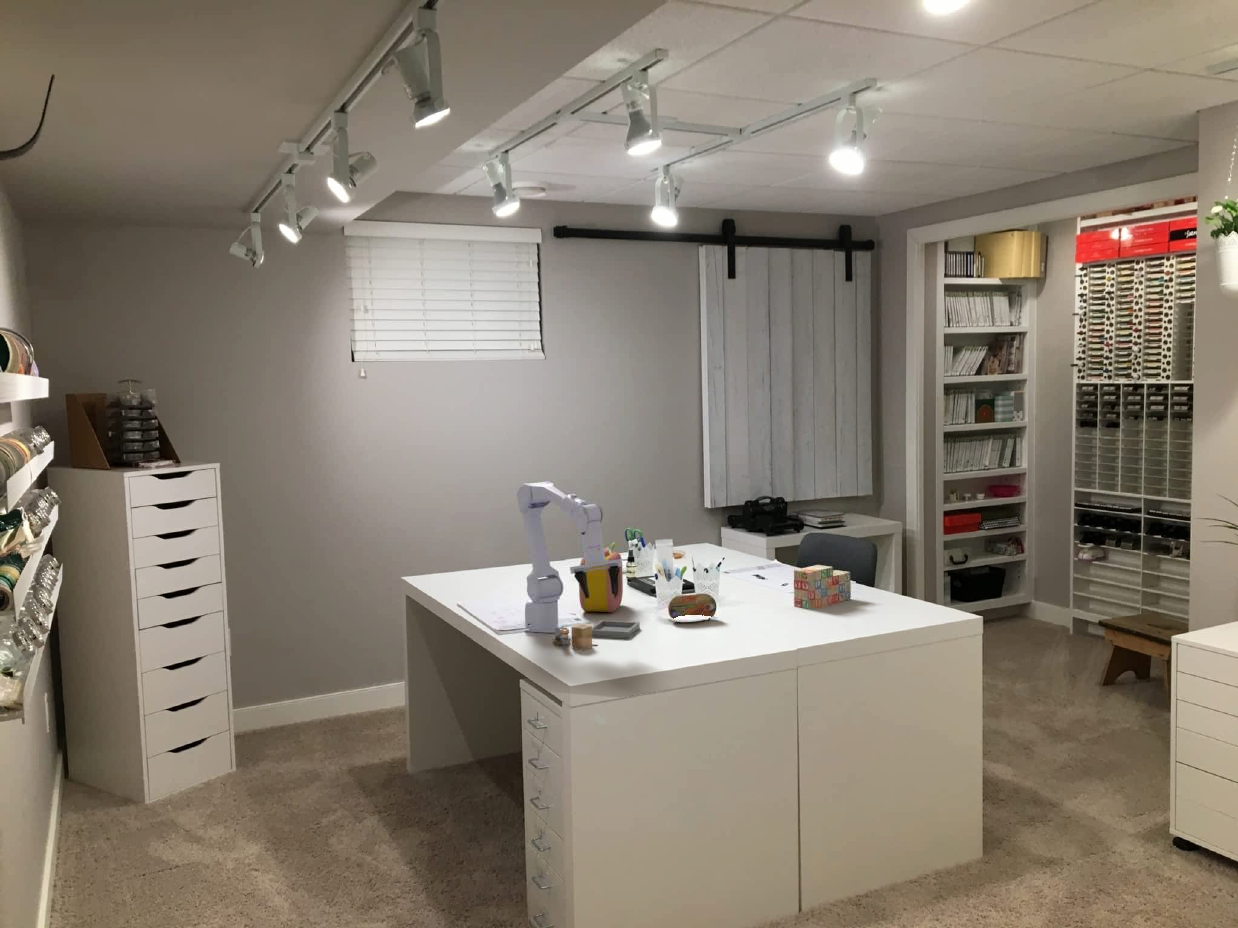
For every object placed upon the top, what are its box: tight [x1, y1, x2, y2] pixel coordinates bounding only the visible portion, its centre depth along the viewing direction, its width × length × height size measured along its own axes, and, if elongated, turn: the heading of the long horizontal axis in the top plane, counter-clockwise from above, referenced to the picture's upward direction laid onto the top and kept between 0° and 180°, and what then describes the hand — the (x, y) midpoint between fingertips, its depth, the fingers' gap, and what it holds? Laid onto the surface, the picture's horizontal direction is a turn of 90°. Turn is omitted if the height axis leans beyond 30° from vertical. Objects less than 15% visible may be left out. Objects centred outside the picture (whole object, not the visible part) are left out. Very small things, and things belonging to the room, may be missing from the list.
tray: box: [592, 619, 641, 640], centre depth 295 cm, size 12×12×2 cm
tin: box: [667, 593, 717, 620], centre depth 308 cm, size 15×3×8 cm, turn 106°
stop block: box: [571, 623, 593, 650], centre depth 280 cm, size 4×4×6 cm
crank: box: [554, 626, 570, 645], centre depth 281 cm, size 9×4×4 cm, turn 13°
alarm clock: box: [578, 547, 624, 614], centre depth 325 cm, size 18×11×19 cm, turn 168°
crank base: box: [552, 637, 598, 647], centre depth 283 cm, size 13×5×1 cm, turn 73°
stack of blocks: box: [793, 564, 852, 611], centre depth 329 cm, size 21×6×12 cm, turn 129°
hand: (600, 595), depth 279 cm, fingers open, 7 cm apart
